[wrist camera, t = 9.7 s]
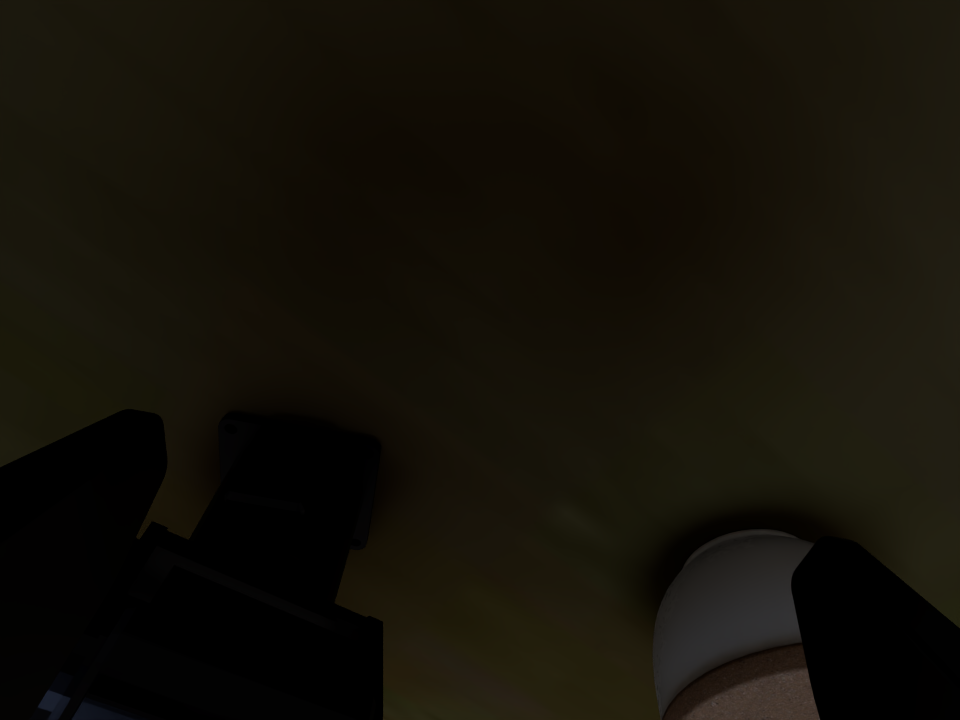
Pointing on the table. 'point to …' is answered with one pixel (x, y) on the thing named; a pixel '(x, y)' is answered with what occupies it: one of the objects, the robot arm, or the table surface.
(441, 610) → the table surface
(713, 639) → the lidded jar
